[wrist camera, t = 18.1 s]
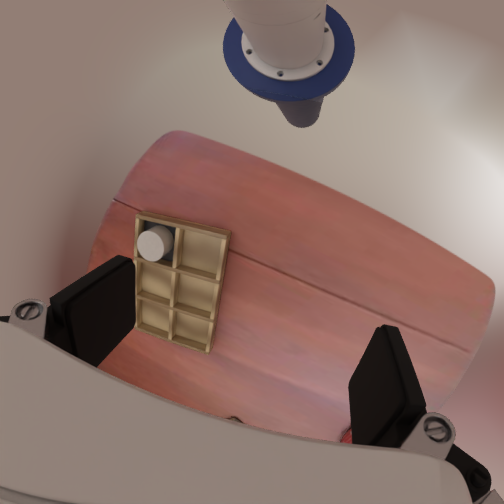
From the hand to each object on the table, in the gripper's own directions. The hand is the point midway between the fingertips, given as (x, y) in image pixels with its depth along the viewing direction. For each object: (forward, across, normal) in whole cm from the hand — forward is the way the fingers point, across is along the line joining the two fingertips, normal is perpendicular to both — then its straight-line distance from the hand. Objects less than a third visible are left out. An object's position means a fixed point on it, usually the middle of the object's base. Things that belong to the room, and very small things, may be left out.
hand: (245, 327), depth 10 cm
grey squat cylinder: (+28, +17, +9) cm, 34 cm away
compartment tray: (+28, +14, +16) cm, 35 cm away
